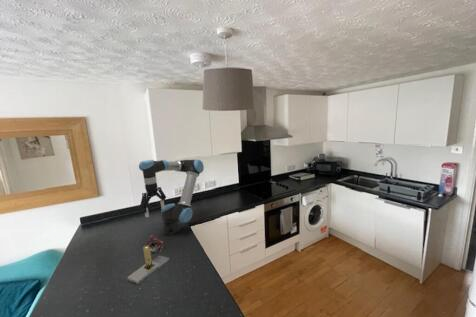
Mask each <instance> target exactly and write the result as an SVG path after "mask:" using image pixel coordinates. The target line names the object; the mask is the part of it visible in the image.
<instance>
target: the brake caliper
mask: <svg viewBox="0 0 476 317" xmlns="http://www.w3.org/2000/svg"><path fill="white" fill-rule="evenodd" d="M146 245H149V246H150V252H151V254H153V253H157V252H158V251H159V252H161V251H162V250H163V247H164V244H163V241H162V240H160V239H158V238H157V237H155V236H154V235H150V236H149V238H148V239H147V241H146V242H145V245H144V246H146Z"/></svg>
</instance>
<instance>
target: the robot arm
mask: <svg viewBox="0 0 476 317" xmlns="http://www.w3.org/2000/svg"><path fill="white" fill-rule="evenodd" d="M204 168H205V167H204V163H203V161H202V160H201V159H196V158H195V159H182V160H175V161H167V160H166V159H161V160H152V159H147V160H142V161H140V162H139V164H138V169H139V170H140V171H141V172H142V174H143V182H144V189H145V192H142V193H141V195H142V197H141V199H140V200H141V201H140V205H139V209H143V214H144V216H145V218H149V217H150V214H149V213H150V212H149V209H148V204H149V202H150V200H151V199H152V198H153V197H157V198H159V199H160V200H159V202H160V207H161V208H160V211H161V212H160V214H161V218H162V219H161V220H162V229H161V233H162V234H161V235H164V236H173V235H176V234H178V233H179V232H180V231H181V225H180V223H188V222H189V221H191V219H192V217H193V213H194V212H193V209H192V205H191V201H192V198H193V194H194V190H195V188H196V187H195V186H196V183H197V178H198V177H199V176H200V174H202V173H203V171H204ZM165 171H166V172H167V171H175V172H180V173H185V174H186V176H185V177H186V178H185V182H184V184H183V185H184V186H183V188H182V193H181V196H180V200H179V202H177V204H175V203H172V202H171V203H168V204H165V200H166V198H167V196H166V194H165V193H164V191H163V190H162V187H161V186H158V182H157V181H158V179H157V173H160V172H165Z"/></svg>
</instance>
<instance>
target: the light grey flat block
mask: <svg viewBox="0 0 476 317" xmlns="http://www.w3.org/2000/svg"><path fill="white" fill-rule="evenodd" d="M152 264H153V265H154V266H153V267H152V268H151V269H149V270H147V269H145V268H146V263H145V264H143V265H142V266H140V267H139V268H138V269H137V270H135V271H134V272H132V273H131V274H130V275H128V276H127V277H126V279H127V281H129V282H131V283H133V284H135V285H140V284H141V283H142V282H143V281H144V280H146V279H147V278H149V277H150V275H149V274H150V273H151V272H152V271H154V270H155V269H156V268H157V267H159V266H160V264H158V263H155V262H152ZM159 268H160V267H159ZM154 272H155V271H154Z"/></svg>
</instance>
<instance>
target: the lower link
mask: <svg viewBox="0 0 476 317" xmlns="http://www.w3.org/2000/svg"><path fill="white" fill-rule="evenodd" d="M168 261H170V258H169V257H167V256H163V255H160V254H159V255H158V256H156V257H155V258H153V259H152V262H155V263H158V264H160V266H159V267H157V268H156V269H155V270H154V271H152V272H151V273H150V274H149V276H151V275H152V274H154V273H155V272H156V271H157V270H158V269H159V268H160V267H162V266H163V265H165V263H167V262H168ZM153 266H154V265H153ZM145 269H146V268H145Z"/></svg>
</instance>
